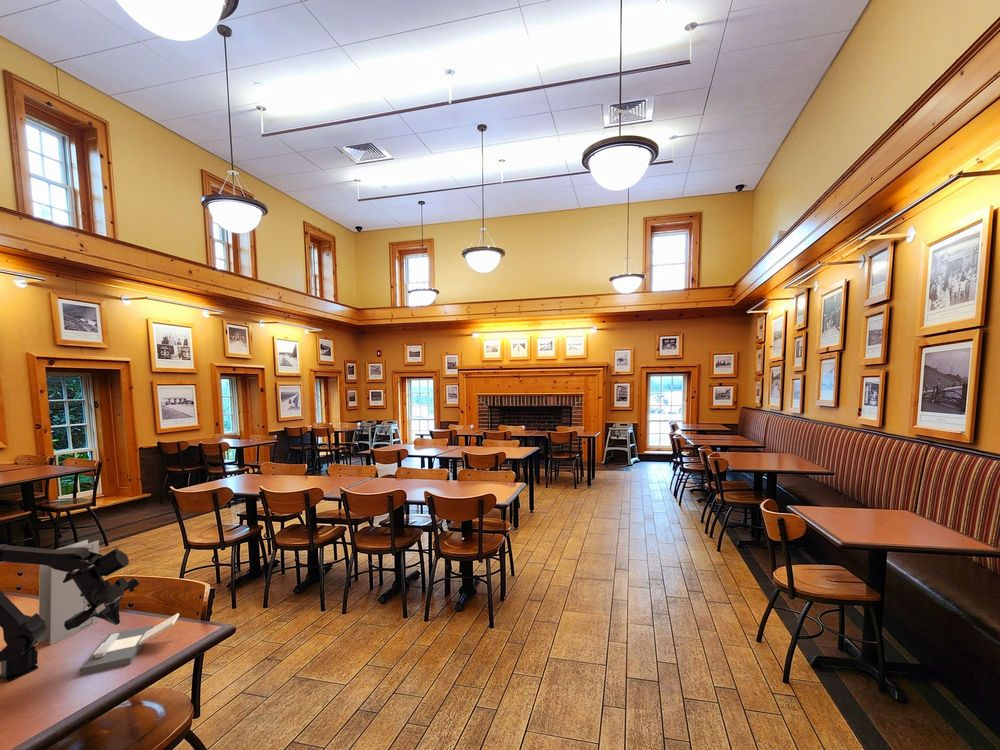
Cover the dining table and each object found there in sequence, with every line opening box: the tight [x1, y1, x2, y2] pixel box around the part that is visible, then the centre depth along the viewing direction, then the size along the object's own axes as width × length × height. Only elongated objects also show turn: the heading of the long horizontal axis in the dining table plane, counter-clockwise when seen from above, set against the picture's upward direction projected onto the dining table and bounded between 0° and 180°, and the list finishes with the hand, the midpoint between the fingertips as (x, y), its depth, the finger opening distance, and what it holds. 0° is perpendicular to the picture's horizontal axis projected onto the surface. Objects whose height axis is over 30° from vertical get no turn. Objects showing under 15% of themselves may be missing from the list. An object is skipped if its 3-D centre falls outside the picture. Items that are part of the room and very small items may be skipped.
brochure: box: [38, 539, 100, 645], centre depth 151 cm, size 14×6×30 cm, turn 168°
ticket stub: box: [139, 612, 180, 645], centre depth 143 cm, size 1×7×10 cm
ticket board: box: [79, 624, 154, 676], centre depth 138 cm, size 12×20×3 cm, turn 24°
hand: (117, 624), depth 138 cm, fingers closed
